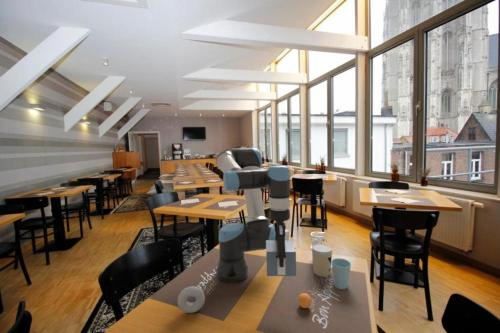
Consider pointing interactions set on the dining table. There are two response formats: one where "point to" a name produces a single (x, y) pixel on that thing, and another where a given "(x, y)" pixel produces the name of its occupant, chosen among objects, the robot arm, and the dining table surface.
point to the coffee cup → (321, 259)
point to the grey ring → (188, 292)
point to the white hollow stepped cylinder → (317, 238)
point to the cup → (341, 272)
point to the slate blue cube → (272, 260)
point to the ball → (304, 300)
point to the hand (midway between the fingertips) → (280, 266)
